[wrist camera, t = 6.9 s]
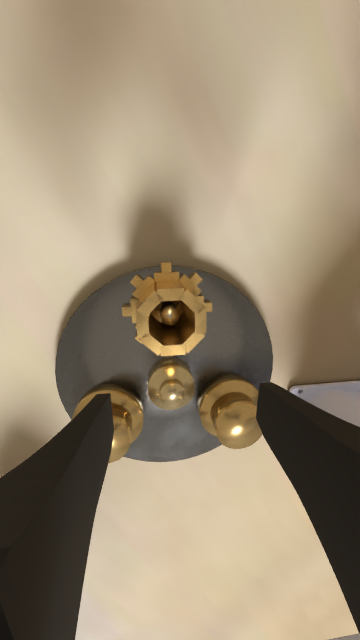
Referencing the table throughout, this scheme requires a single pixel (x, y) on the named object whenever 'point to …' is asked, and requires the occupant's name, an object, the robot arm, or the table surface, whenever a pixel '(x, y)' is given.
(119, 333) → the carrier
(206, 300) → the planet gear
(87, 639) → the table surface
